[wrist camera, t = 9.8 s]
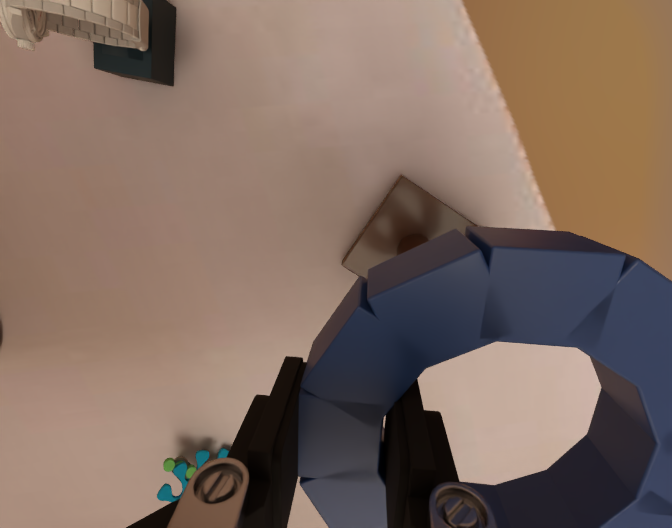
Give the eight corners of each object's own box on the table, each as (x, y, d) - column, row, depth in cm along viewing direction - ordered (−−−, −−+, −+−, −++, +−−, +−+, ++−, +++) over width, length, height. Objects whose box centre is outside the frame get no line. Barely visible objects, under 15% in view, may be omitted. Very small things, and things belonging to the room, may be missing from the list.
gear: (276, 498, 39) (197, 591, 34) (263, 484, 44) (193, 563, 39) (212, 420, 39) (122, 502, 34) (206, 415, 44) (127, 486, 39)
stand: (342, 261, 32) (325, 330, 20) (400, 174, 30) (424, 191, 17) (424, 313, 33) (458, 411, 21) (488, 233, 30) (572, 290, 18)
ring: (250, 429, 13) (226, 487, 11) (450, 146, 10) (475, 143, 8) (506, 575, 14) (532, 655, 12) (769, 365, 11) (877, 423, 9)
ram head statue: (96, -7, 28) (-69, -104, 17) (198, 11, 27) (93, -75, 17) (98, 73, 29) (-52, 29, 19) (194, 91, 29) (96, 57, 19)
